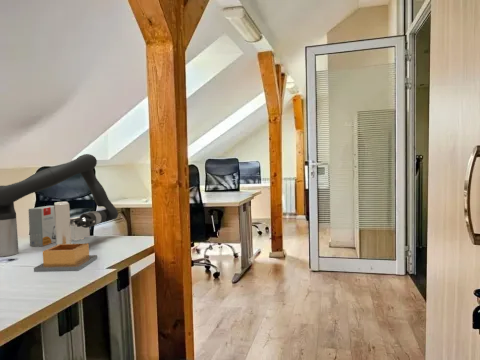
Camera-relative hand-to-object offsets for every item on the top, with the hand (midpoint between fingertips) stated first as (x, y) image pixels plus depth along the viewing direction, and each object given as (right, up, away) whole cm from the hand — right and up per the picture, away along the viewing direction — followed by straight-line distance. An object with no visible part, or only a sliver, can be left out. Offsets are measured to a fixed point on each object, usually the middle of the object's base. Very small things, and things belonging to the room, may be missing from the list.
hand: (69, 224), depth 176 cm
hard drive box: (-24, -13, +23) cm, 36 cm away
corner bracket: (-11, -12, +36) cm, 40 cm away
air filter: (-1, -14, -4) cm, 15 cm away
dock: (+9, -14, -22) cm, 27 cm away
